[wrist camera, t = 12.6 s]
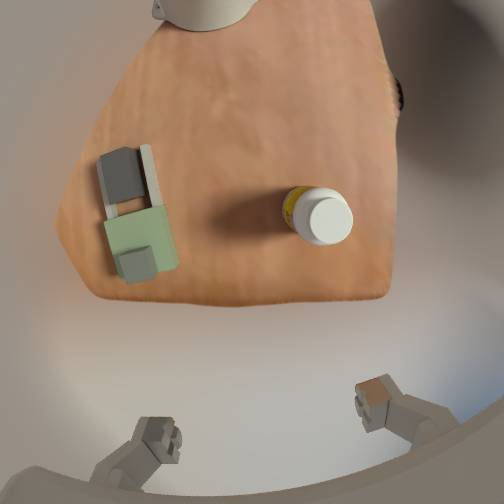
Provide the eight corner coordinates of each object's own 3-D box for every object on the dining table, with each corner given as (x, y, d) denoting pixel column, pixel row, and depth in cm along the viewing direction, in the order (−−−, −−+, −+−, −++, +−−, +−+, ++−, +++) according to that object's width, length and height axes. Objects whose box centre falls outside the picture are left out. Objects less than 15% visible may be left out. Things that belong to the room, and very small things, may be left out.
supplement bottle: (271, 206, 39) (285, 216, 27) (306, 176, 38) (335, 173, 26) (301, 240, 41) (326, 266, 28) (334, 212, 40) (372, 225, 27)
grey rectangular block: (147, 195, 38) (134, 197, 33) (123, 202, 38) (109, 205, 33) (138, 150, 37) (124, 146, 32) (115, 158, 37) (99, 156, 32)
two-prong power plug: (100, 163, 37) (80, 161, 31) (152, 145, 36) (137, 139, 31) (127, 274, 41) (112, 287, 35) (179, 262, 41) (169, 275, 35)
